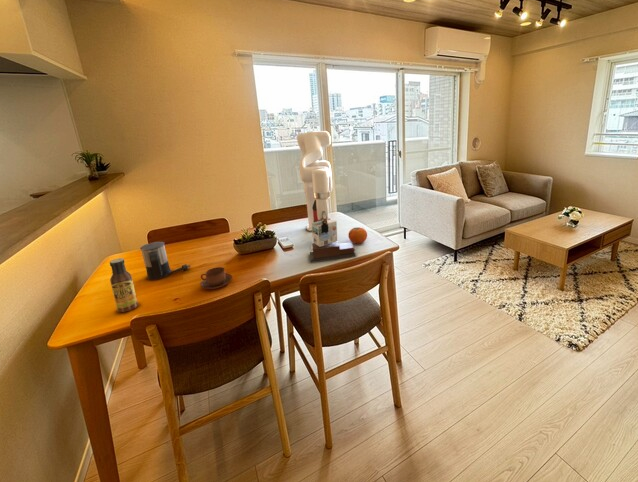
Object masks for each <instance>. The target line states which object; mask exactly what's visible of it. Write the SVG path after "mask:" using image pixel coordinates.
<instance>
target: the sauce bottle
mask: <svg viewBox="0 0 638 482" xmlns="http://www.w3.org/2000/svg"><path fill="white" fill-rule="evenodd" d="M109 266H110V268H111V271H112V272H111V273H112V275H111V276H110V279H109V281H110V287H111V291H112V295H113V299H114V302H115V307H116V311H117V312H119V313H126V312H130V311H132V310H134V309H136V308H137V307H138V298H137V293H136V289H135V285H134V281H133V278H132V275H131V273H130V272H129V271H127V268H126V266H125V258H123V257H118V258H113V259H112V260H110V261H109Z"/></svg>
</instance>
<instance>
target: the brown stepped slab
mask: <svg viewBox="0 0 638 482" xmlns="http://www.w3.org/2000/svg"><path fill="white" fill-rule="evenodd" d="M311 248H312V250H311V251H309V258H310V259H309V260H310V263H316V262H324V261H325V262H326V261H332V260H339V259H346V258H347V259H348V258H353V257H356V253H355V252H356V248H355V245H354V244H353V242H352V241H350V242H349V241H348V242H342V243H339V241H336V242H333V243H330V244H327V245H324V246H321V247H319V246H318V245H316V244H315V243H314V242H312V243H311Z"/></svg>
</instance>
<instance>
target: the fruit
mask: <svg viewBox="0 0 638 482" xmlns="http://www.w3.org/2000/svg"><path fill="white" fill-rule="evenodd" d="M347 236H348V239H349V241H350V242H351V243H352V244H353V243H354V244H359V245H360V244H363V243H364V242H365V241H366V240H367V238H368V231H367V230H366V229H365V228H363V227H359V226H358V227H353V228H351V229H350V230H349V231H348V234H347Z"/></svg>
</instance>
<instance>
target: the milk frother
mask: <svg viewBox="0 0 638 482" xmlns="http://www.w3.org/2000/svg"><path fill="white" fill-rule="evenodd" d="M165 244H166V242H165V241H154V242H150V243H146V244H144V245H141V246H140V247H139V250H140V251H141V254H142V255H141V256H142V258H143V263H144V266H145V269H146V276H147V277H146V279H147V280H150V281H153V280H154V281H155V280H160V279H163V278H166V277H168V276H169V275H171V274H174V273H178V272H181V271H187V270H188V269H189V268H191V267H192V266H191V264H189V265H187V264H183V265H181V267H178V268H176V269H174V270H171V267H170V263H169V259H168V255H167V251H166V247H165V246H166V245H165Z"/></svg>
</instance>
